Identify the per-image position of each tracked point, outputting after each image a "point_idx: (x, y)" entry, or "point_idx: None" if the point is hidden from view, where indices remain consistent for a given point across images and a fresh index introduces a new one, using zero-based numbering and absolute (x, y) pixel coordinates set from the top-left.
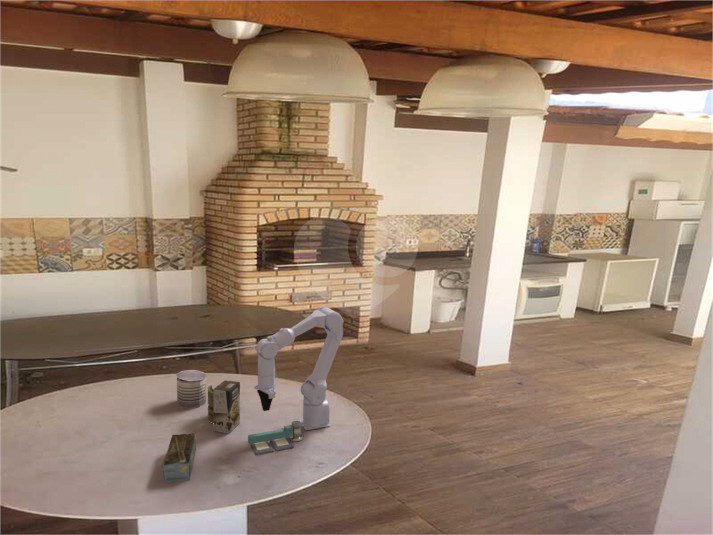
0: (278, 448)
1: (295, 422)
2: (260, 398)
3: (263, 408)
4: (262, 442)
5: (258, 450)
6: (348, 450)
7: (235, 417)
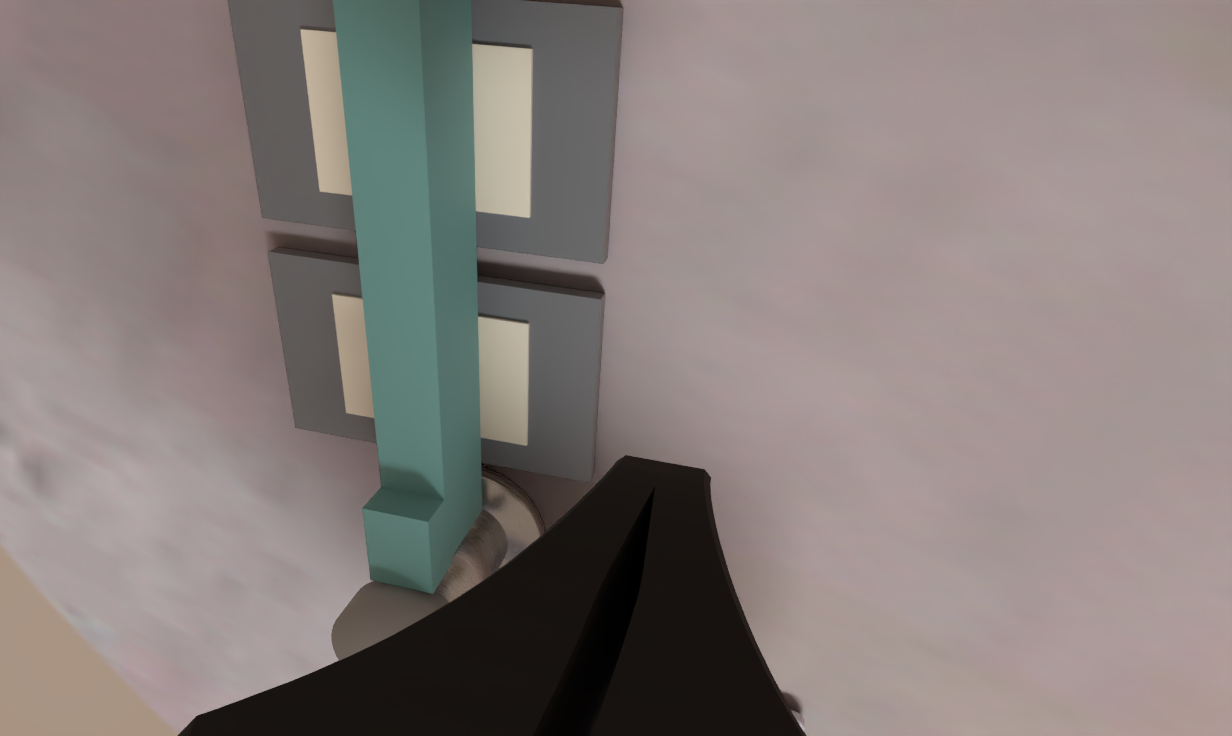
0: (289, 280)
1: None
2: (677, 662)
3: (600, 485)
4: None
5: (296, 38)
6: (189, 700)
7: None
